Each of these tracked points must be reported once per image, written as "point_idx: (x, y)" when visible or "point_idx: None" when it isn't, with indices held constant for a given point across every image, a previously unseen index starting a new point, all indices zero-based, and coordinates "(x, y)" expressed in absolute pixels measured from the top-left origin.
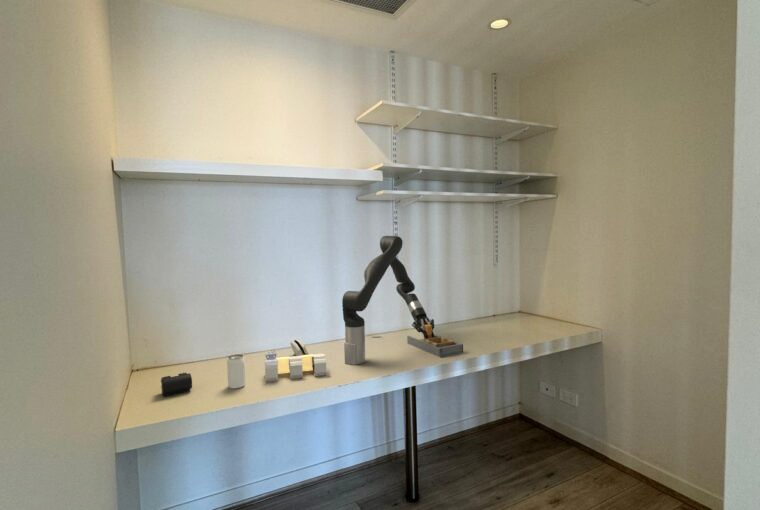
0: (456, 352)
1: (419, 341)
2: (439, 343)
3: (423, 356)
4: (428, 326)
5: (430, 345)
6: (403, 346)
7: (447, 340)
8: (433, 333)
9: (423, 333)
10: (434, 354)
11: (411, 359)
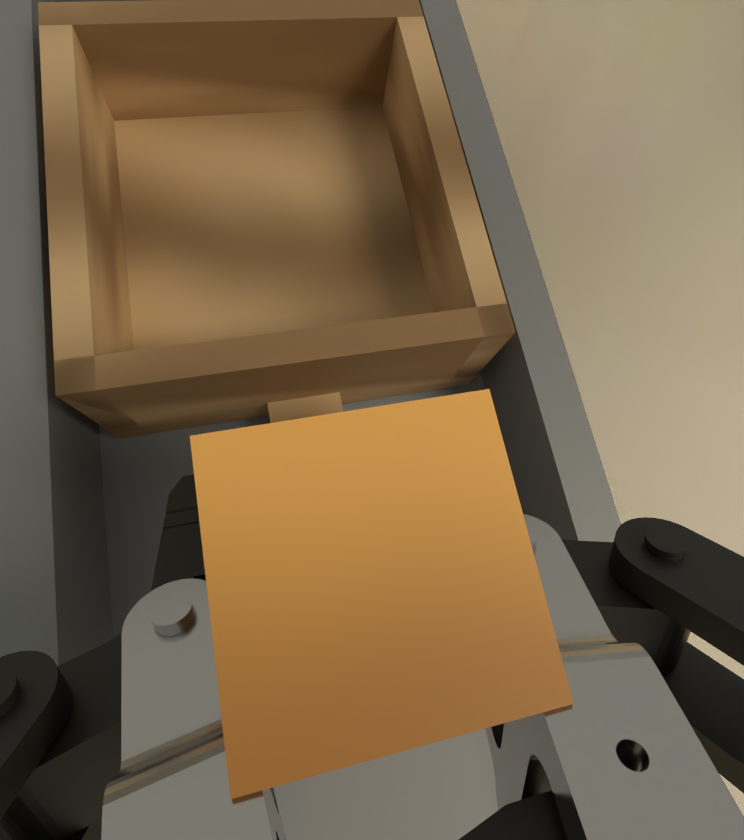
0: None
1: (581, 415)
2: (362, 14)
3: (574, 140)
4: (397, 409)
5: (489, 113)
6: (736, 664)
7: (87, 148)
8: (186, 502)
9: None
10: None
11: (721, 113)
